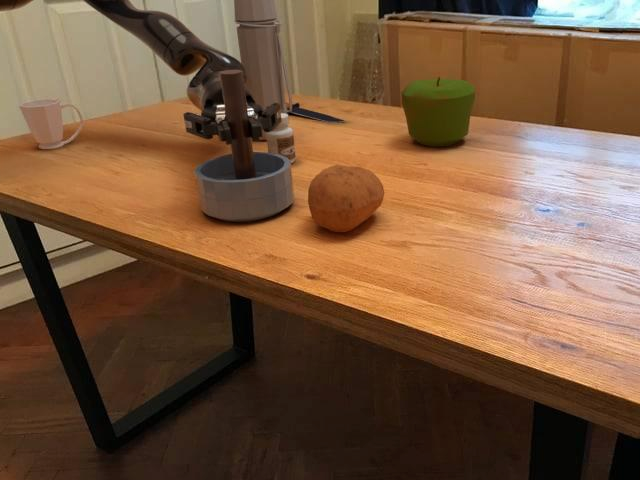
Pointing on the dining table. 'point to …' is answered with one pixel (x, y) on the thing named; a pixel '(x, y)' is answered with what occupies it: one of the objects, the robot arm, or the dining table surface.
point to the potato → (344, 197)
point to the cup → (47, 121)
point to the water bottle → (262, 53)
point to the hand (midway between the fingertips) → (242, 134)
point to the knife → (311, 114)
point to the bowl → (245, 188)
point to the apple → (438, 110)
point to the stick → (238, 123)
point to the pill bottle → (282, 140)
